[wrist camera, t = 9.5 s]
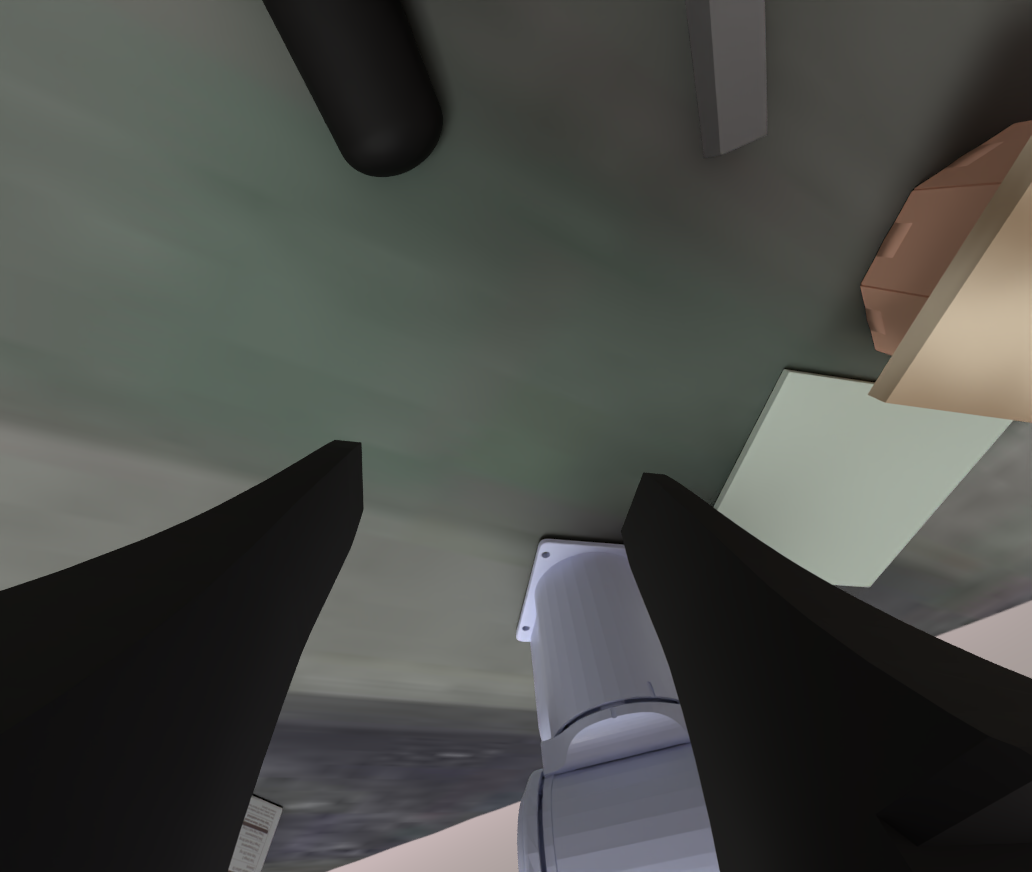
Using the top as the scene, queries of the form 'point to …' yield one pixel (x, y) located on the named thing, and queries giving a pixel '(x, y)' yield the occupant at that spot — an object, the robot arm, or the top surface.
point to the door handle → (415, 108)
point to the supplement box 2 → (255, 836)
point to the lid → (976, 318)
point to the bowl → (933, 234)
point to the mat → (847, 474)
